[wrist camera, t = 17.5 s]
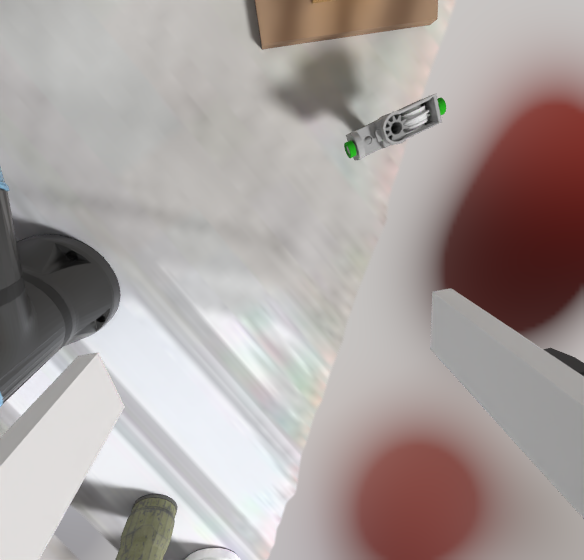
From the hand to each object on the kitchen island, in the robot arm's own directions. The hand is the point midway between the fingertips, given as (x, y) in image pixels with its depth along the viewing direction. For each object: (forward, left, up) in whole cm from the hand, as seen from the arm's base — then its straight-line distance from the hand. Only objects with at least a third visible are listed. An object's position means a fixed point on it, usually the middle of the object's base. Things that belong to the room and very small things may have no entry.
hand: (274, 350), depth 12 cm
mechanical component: (+15, +8, -32) cm, 36 cm away
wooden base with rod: (+13, +26, -32) cm, 43 cm away
